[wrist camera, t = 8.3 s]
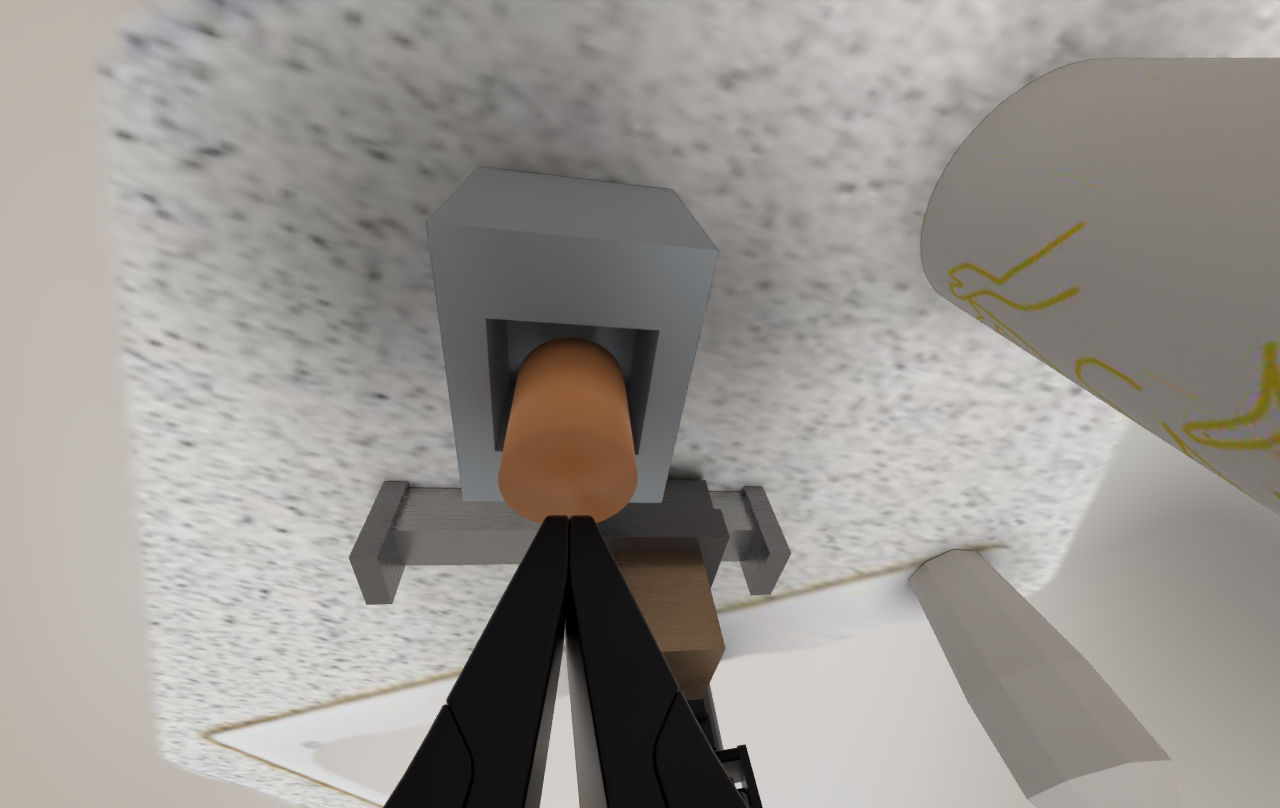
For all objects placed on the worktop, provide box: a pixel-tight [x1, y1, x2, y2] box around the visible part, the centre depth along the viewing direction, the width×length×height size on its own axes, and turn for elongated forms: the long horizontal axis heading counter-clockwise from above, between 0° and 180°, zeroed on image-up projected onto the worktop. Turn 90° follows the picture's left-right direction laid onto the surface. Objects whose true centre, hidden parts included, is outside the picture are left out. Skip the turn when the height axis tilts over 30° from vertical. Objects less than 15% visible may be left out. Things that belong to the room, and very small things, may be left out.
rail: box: [349, 482, 791, 605], centre depth 22 cm, size 3×18×4 cm, turn 83°
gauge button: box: [498, 337, 638, 524], centre depth 11 cm, size 3×3×4 cm
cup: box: [921, 58, 1280, 516], centre depth 12 cm, size 8×8×12 cm
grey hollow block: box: [426, 167, 719, 503], centre depth 14 cm, size 8×6×6 cm
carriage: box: [597, 480, 730, 700], centre depth 20 cm, size 6×6×8 cm
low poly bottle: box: [909, 550, 1182, 808], centre depth 22 cm, size 6×6×22 cm
